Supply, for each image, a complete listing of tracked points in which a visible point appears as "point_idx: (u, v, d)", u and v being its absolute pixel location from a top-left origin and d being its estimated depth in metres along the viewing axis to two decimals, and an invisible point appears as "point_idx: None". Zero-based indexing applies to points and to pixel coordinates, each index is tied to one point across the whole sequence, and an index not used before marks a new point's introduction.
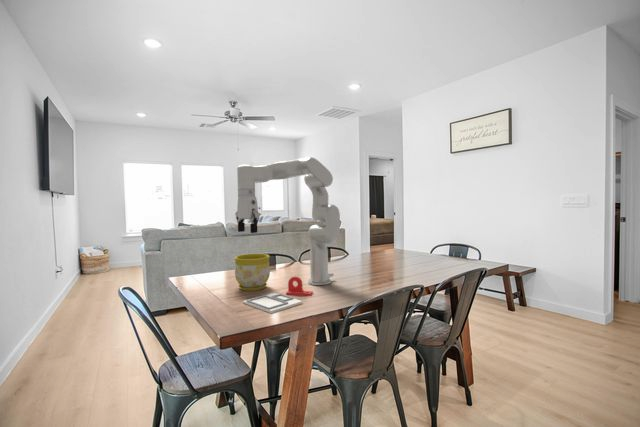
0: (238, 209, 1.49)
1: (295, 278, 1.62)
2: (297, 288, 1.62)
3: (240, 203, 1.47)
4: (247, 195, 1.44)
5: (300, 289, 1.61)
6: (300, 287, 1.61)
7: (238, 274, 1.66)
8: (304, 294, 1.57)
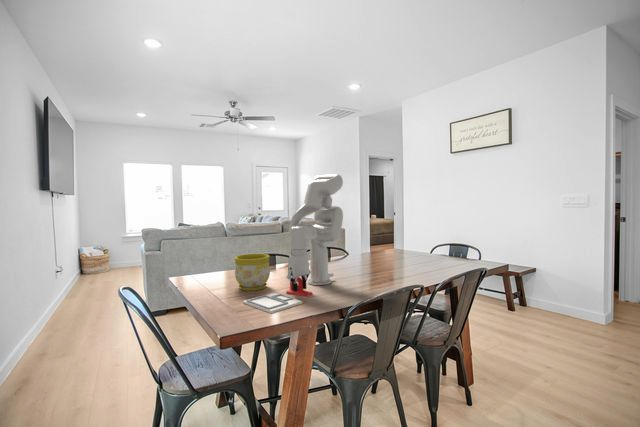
0: (296, 268, 1.55)
1: None
2: (298, 288, 1.62)
3: (300, 262, 1.57)
4: None
5: (300, 289, 1.61)
6: (300, 287, 1.61)
7: (238, 274, 1.66)
8: (302, 294, 1.57)
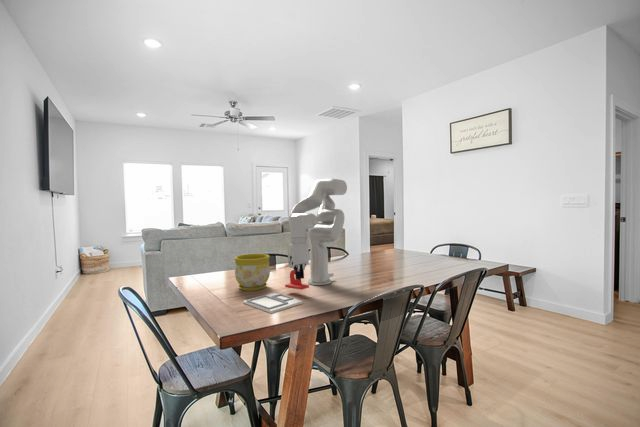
0: (296, 257, 1.56)
1: (294, 271, 1.62)
2: (296, 281, 1.61)
3: (300, 250, 1.57)
4: None
5: (298, 282, 1.60)
6: (298, 280, 1.60)
7: (238, 274, 1.66)
8: (297, 287, 1.56)
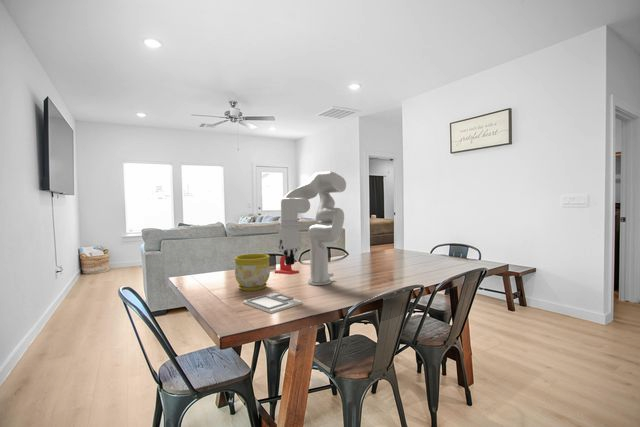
0: (286, 240, 1.50)
1: (284, 257, 1.56)
2: (286, 267, 1.56)
3: (290, 234, 1.52)
4: None
5: (288, 268, 1.54)
6: (288, 266, 1.55)
7: (238, 274, 1.66)
8: (287, 272, 1.50)
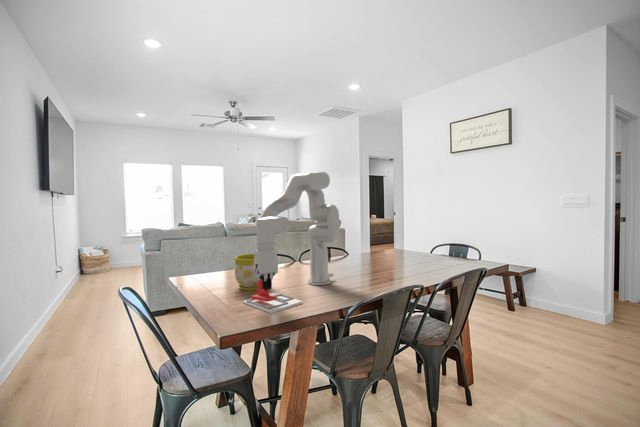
0: (262, 265, 1.39)
1: (261, 281, 1.46)
2: (263, 292, 1.45)
3: (267, 257, 1.41)
4: (274, 248, 1.44)
5: (265, 293, 1.44)
6: (265, 291, 1.44)
7: (238, 274, 1.66)
8: (263, 299, 1.39)
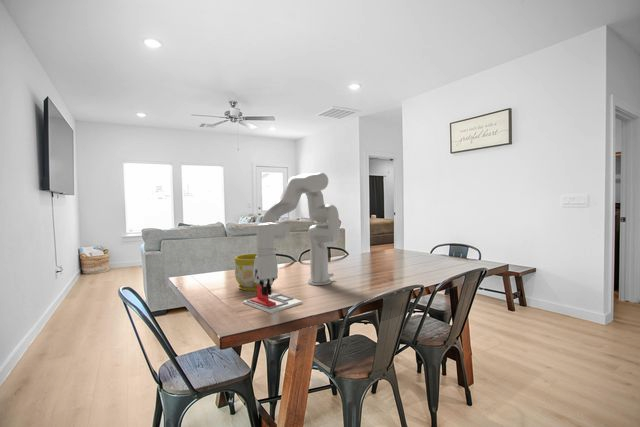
0: (262, 270, 1.39)
1: None
2: (263, 296, 1.44)
3: (267, 263, 1.41)
4: (274, 253, 1.44)
5: (265, 298, 1.43)
6: (265, 296, 1.43)
7: (238, 274, 1.66)
8: (262, 304, 1.39)
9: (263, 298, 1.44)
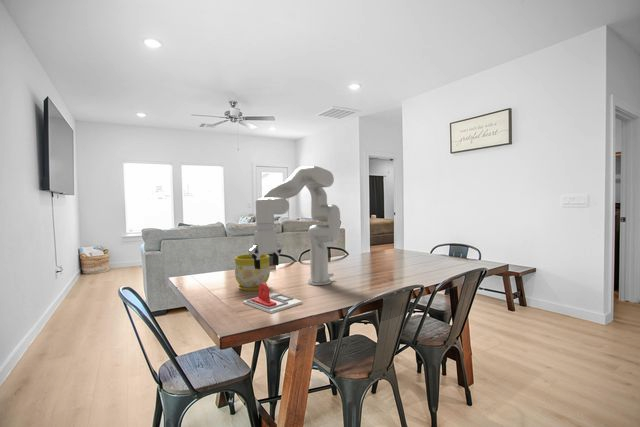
0: (261, 245, 1.39)
1: (263, 285, 1.45)
2: (264, 296, 1.45)
3: (266, 238, 1.40)
4: None
5: (266, 298, 1.43)
6: (266, 296, 1.43)
7: (238, 274, 1.66)
8: (263, 304, 1.39)
9: (264, 298, 1.44)
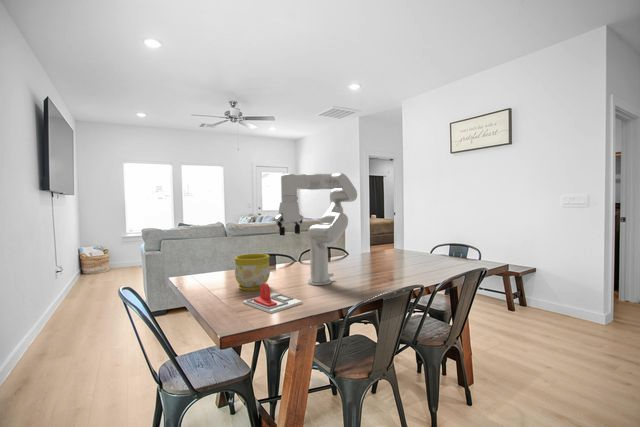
0: (286, 214, 1.59)
1: (264, 285, 1.45)
2: (265, 296, 1.45)
3: (290, 208, 1.60)
4: None
5: (267, 298, 1.44)
6: (267, 296, 1.43)
7: (238, 274, 1.66)
8: (264, 304, 1.39)
9: (265, 298, 1.45)
